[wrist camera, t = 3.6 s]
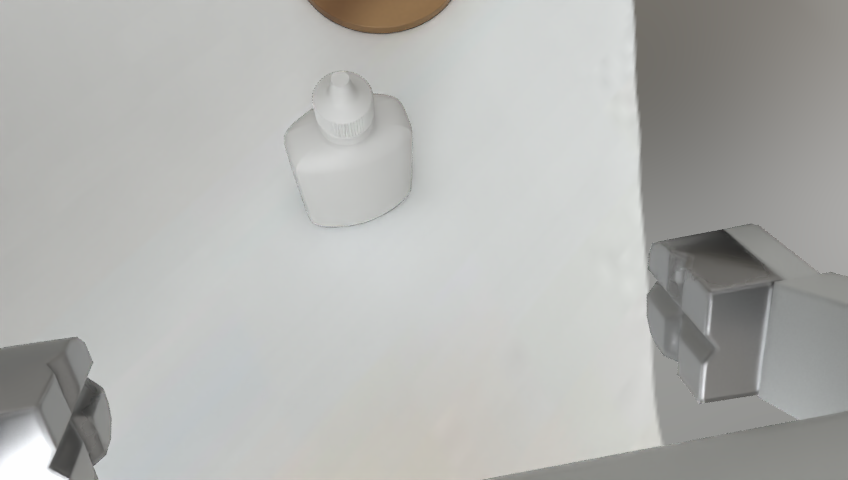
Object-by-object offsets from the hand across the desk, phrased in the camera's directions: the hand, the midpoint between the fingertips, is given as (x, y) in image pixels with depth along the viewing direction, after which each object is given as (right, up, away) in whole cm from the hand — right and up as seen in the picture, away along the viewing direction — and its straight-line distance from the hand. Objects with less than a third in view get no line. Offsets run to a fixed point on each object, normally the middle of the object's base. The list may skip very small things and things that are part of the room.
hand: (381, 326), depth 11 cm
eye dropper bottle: (-3, +4, +29) cm, 29 cm away
